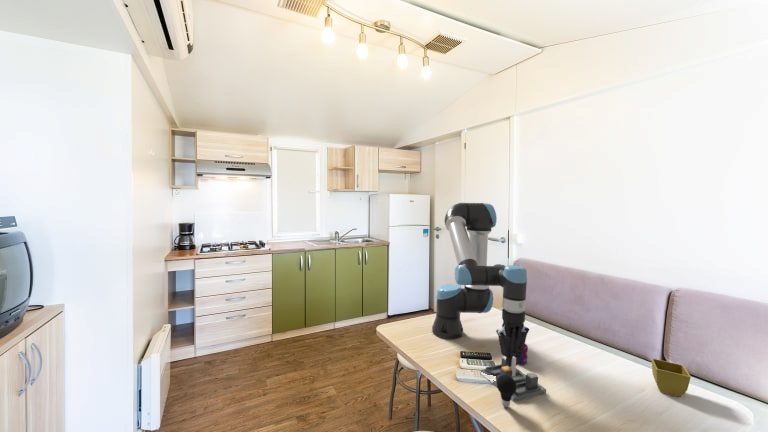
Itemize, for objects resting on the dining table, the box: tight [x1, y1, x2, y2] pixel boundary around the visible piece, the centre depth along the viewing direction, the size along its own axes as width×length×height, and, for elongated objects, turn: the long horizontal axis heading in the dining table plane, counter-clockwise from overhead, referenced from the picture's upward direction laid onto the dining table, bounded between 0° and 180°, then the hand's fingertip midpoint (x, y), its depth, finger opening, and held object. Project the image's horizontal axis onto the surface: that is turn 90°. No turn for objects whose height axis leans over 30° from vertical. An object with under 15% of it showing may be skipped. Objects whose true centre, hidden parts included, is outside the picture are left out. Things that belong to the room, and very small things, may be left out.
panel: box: [480, 363, 547, 402], centre depth 111 cm, size 17×14×2 cm
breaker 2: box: [525, 371, 539, 389], centre depth 106 cm, size 2×3×4 cm
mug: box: [517, 343, 529, 366], centre depth 128 cm, size 7×10×7 cm
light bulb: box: [496, 375, 516, 408], centre depth 97 cm, size 6×6×10 cm
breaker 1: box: [500, 355, 507, 367], centre depth 117 cm, size 2×3×4 cm
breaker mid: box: [500, 366, 512, 377], centre depth 110 cm, size 2×3×4 cm
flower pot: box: [651, 358, 691, 398], centre depth 107 cm, size 9×9×9 cm
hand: (511, 374), depth 110 cm, fingers closed
